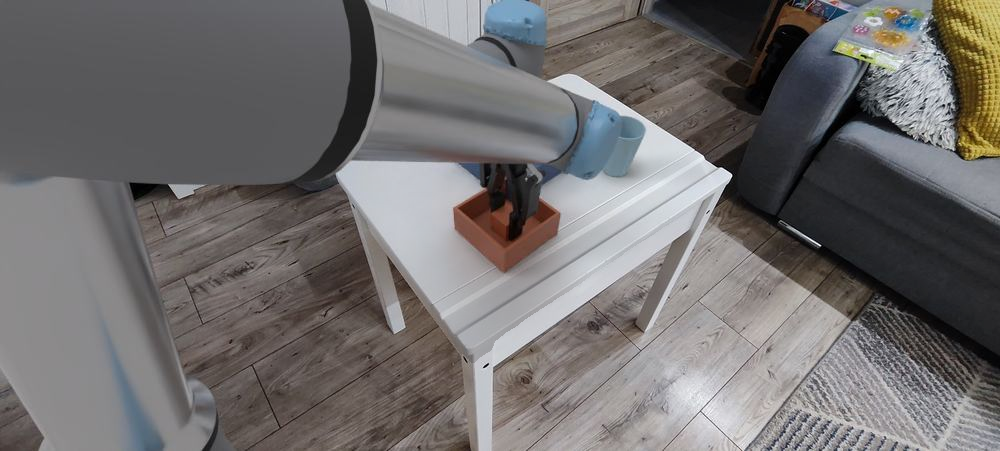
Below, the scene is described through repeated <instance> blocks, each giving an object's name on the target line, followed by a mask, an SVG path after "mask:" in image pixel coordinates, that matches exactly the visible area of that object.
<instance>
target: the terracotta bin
mask: <svg viewBox="0 0 1000 451" xmlns="http://www.w3.org/2000/svg"><path fill="white" fill-rule="evenodd" d="M503 185H504V187H505V188H504V189H502V190H501V191H500V192H502V191H503V192H504V193H505V197H506V177H505V180H504V184H503ZM507 203H508V204H510V205H511V206H512V202H510V201H509V200H507V199H506V198H505V204H507ZM512 207H513V206H512ZM452 210H453V212H452V213H453V225H454V230H455V231H456V232H457V233H458V234H459V235H461V236H462V237H463V238H464V239H465V240H466V241H467V242H469V243H470V244H471V245H472V246H473V247H474V248H475V249H476V250H478V251H479V252H480V253H481V254H482V255H483V256H484V257H485V258H486V259H488V261H490V262H491V263H492V264H493V265H494V266H495V267H496V268H497V269H498V270H500V271H501V272H502V273H503V274H505V273H506V272H508V270H510V269H511V268H513V267H514V266H516V265H517V264H519V262H521V261H522V260H524V259H525V258H527V257H528V256H530V255H531V254H532V253H534V252H535V251H537V249H539V248H540V247H542V246H543V245H544V244H546V243H547V242H549V241H550V240H551V239H553V238H554V237H556V236H557V235H558V232H559V227H560V223H561V222H560V221H561V215H562V213H561V212H560V211H559V210H557V209H556V208H555V207H553V206H552V205H551V204H550V203H548V202H546V201H545V200H544V199H542V198H541V197H540V196H539V202H538V209H537V213H536V214H535V215H533V216H532V217H530V218H529V219H527V220H526V224H525V225H524V226H523V229H522V234H520V235H519V236H517V237H516V238H515V239H513V240H512V241H511V240H509V239H508V240H507V241H505V240H504V239H503V238H501V237H500V236H499V235H498V234H497V233H495V232H494V231H493V230H492V229H491V207H490V205H489V195H488V193H487V189H486V188H483V189H481V190H480V191H478V192H477V193H475V194H473V195H472V196H470V197H468V198H466V200H463V201H462V202H459V204H456V205H455V206H454V207H452Z"/></svg>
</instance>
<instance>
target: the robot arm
mask: <svg viewBox="0 0 1000 451" xmlns="http://www.w3.org/2000/svg"><path fill="white" fill-rule="evenodd" d="M482 29H483V34H482V35H481V36H479V37H477V38H476V39H475V40H473V41H472V42H470V43H469V44H467V45H466V44H463V43H461V42H459V41H457V40H454V39H452V38H449V37H447V36H445V35H443V34H440V33H438V32H436V31H434V30H431V29H429V28H427V27H425V26H423V25H420V24H418V23H416V22H413V21H411V20H409V19H406V18H404V17H402V16H400V15H398V14H395V13H392V12H390V11H388V10H386V9H383V8H382V7H379V6H377V5H376V4H372V3H371V2H370V0H0V370H1V372H2V374H3V375H4V376H5V378H6V380H7V381H8V383H9V385H10V387H11V388H12V390H13V391H14V392H15V394H16V395H17V398H18V399H19V401H20V402H21V403H22V405H23V407H24V409H25V410H26V411H27V413H28V415H29V416H30V418H31V420H32V421H33V422H34V424H35V426H36V427H37V429H38V430H39V432H40V433H41V435H42V437H43V440H42V441H41V443H40V446H39V448H38V450H37V451H238V450H237V449H236V448H235V447H234V445H232V444H231V442H230V441H229V439H228V438H227V436H226V435H225V433H224V431H223V428H222V424H221V419H220V416H219V412H218V408H217V405H216V401H215V398H214V394H213V393H212V392H211V390H210V389H209V388H208V387H207V386H206V385H205V384H204V383H203V382H202V381H200V380H199V379H197V378H196V377H193V376H191V375H187V374H185V370H184V367H183V364H182V360H181V357H180V353H179V350H178V346H177V342H176V340H175V336H174V332H173V329H172V326H171V321H170V319H169V316H168V313H167V309H166V305H165V302H164V299H163V296H162V295H163V294H162V292H161V288H160V285H159V280H158V278H157V274H156V271H155V267H154V264H153V261H152V258H151V257H152V256H151V253H150V250H149V247H148V243H147V240H146V237H145V233H144V229H143V227H142V223H141V220H140V216H139V214H138V209H137V206H136V202H135V199H134V196H133V192H132V189H131V185H130V183H134V184H135V183H136V184H152V185H153V184H155V185H157V184H158V185H180V186H181V185H186V186H187V185H189V186H191V185H192V186H193V185H194V186H195V185H198V186H199V185H200V186H201V185H202V186H211V185H212V186H253V185H254V186H255V185H256V186H257V185H259V186H260V185H281V184H282V185H283V184H306V183H307V184H308V183H309V184H310V183H315V182H321V181H325V179H328V178H330V177H332V176H334V175H335V174H337V173H338V172H340V171H341V170H342V169H344V168H345V167H346V166H347V165H348V164H349V163H350V162H392V163H393V162H396V163H397V162H400V163H448V164H449V163H451V164H452V163H453V164H454V163H455V164H459V163H479V171H480V180H479V184H480V187H481V188H482V189H485V188H486V189H487V193H488V195H489V205H490V207H491V213H492V212H494V211H496V210H497V209H499V208H500V207H502V206H504V205H505V193H504V192H503V191H502V192H500V191H501V190H502V189H504V188H505V187H504V185H503V184H504V180H505V176H506V178H507V181H508V182H510V190H511V198H512V206H513V211H512V212H510V213H509V235H508V239H509V240H511V241H512V240H513V239H515V238H516V237H517V236H519V235H520V234H522V229H523V226H524V225H525V224H526V220H527V219H529V218H530V217H532V216H533V215H535V214H536V213H537V209H538V202H539V197H540V195H541V189H542V185H543V184H542V181H543V180H544V178H545V177H546V173H545V171H544V170H540V171H538V170H537V169H536V168H535V167H534V165H533V164H542V165H551V166H553V167H556V168H558V169H560V170H562V171H563V174H565V175H571V176H573V177H576V178H579V179H580V180H583V181H588V180H593V179H595V178H596V177H597V176H599V174H601V172H603V169H604V167H605V166H606V164H607V163H608V161H609V159H610V158H611V156H612V154H613V152H614V149H615V147H616V145H617V142H618V139H619V136H620V132H621V117H620V116H621V115H620V113H619V112H618V111H616V110H615V109H613V108H611V107H609V106H607V105H604V104H602V103H600V102H599V101H598V100H595V99H593V100H592V99H590V98H588V97H584V96H582V95H580V94H577V93H575V92H572V91H570V90H568V89H565V88H563V87H562V86H561V87H560V86H558V85H557V84H554V83H552V82H549V81H548V80H545V79H542V76H543V70H544V69H543V68H544V61H545V60H544V59H545V52H546V45H547V42H548V40H547V15H546V12H545V10H544V9H543V8H542V7H541V6H540V5H538V4H537V3H534V2H532V1H528V0H498V1H495V2H493V3H491V4H490V5H488V7H487V9H486V11H485V13H484V22H483V25H482ZM488 176H489V177H488ZM487 177H488V178H487ZM486 178H487V179H486ZM526 181H527V182H526ZM541 184H542V185H541Z"/></svg>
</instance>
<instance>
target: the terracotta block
mask: <svg viewBox="0 0 1000 451" xmlns="http://www.w3.org/2000/svg"><path fill="white" fill-rule="evenodd" d="M512 211H513V207H512V206H511V205H510V204H508V203H507V204H505V205H504V206H502V207H500V208H499V209H497V210H496V211H494V212H492V213H491V229H492V230H493V231H494V232H495V233H497V234H498V235H499V236H500V237H501V238H503V239H504V240H505V241H507V240H508V235H509V213H510V212H512Z"/></svg>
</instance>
